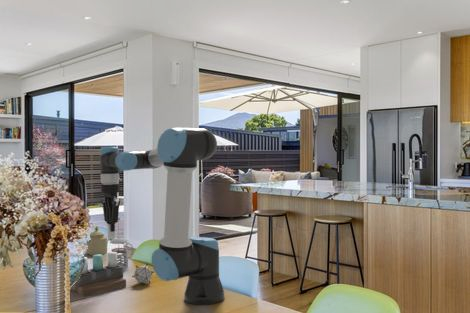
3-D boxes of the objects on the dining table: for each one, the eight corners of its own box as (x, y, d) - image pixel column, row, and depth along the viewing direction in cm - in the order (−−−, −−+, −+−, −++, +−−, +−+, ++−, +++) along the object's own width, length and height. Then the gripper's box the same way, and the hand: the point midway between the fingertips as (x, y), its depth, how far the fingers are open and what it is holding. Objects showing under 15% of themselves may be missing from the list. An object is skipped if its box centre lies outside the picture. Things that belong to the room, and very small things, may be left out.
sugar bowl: (79, 252, 261) (78, 225, 261) (97, 248, 269) (96, 223, 269) (93, 256, 251) (92, 228, 250) (111, 252, 259) (110, 225, 258)
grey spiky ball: (138, 293, 197) (123, 274, 197) (150, 280, 204) (136, 263, 204) (150, 286, 192) (135, 267, 192) (162, 273, 199) (147, 255, 199)
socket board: (127, 286, 194) (127, 268, 194) (82, 296, 182) (82, 277, 181) (112, 279, 205) (112, 262, 205) (69, 289, 192) (68, 271, 192)
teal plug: (104, 269, 193) (104, 255, 193) (95, 271, 190) (95, 257, 190) (100, 268, 196) (100, 253, 196) (91, 269, 193) (90, 255, 193)
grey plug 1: (89, 272, 189) (89, 258, 188) (79, 274, 186) (79, 259, 186) (85, 271, 192) (85, 256, 192) (76, 272, 189) (75, 258, 189)
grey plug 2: (119, 266, 197) (118, 252, 197) (110, 268, 194) (109, 254, 194) (114, 265, 200) (114, 251, 200) (106, 266, 198) (105, 252, 197)
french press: (107, 268, 224) (105, 217, 223) (131, 265, 229) (129, 215, 228) (110, 273, 215) (109, 219, 214) (135, 270, 220) (134, 217, 219)
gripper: (125, 183, 194) (126, 239, 195) (111, 182, 204) (112, 235, 205) (108, 184, 189) (110, 242, 190) (95, 183, 199) (96, 238, 200)
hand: (111, 238), depth 197 cm, fingers closed
